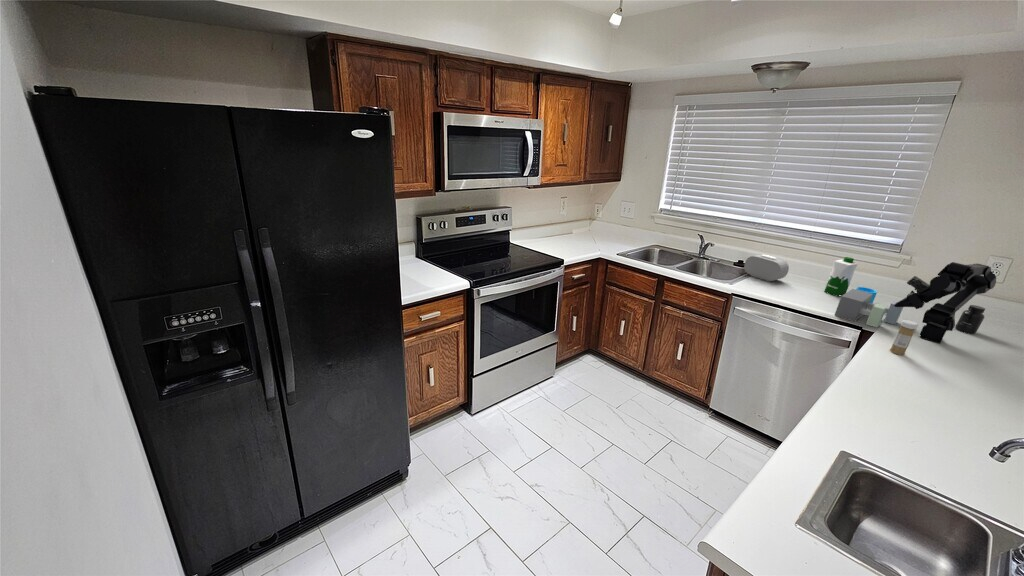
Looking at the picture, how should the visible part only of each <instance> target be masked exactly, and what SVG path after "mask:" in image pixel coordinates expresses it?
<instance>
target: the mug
mask: <svg viewBox="0 0 1024 576" xmlns="http://www.w3.org/2000/svg"><path fill="white" fill-rule="evenodd" d="M856 290H860V291H863V292H867V293H871V294H873V295H872V298H871V300H870V303H873V304H874V301H875V299H876V297H877V294H878V291H877V290H875V289H873V288H869V287H864V286H857V287H856Z"/></svg>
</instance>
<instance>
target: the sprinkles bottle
mask: <svg viewBox="0 0 1024 576" xmlns="http://www.w3.org/2000/svg"><path fill="white" fill-rule="evenodd" d="M918 326H919V325H918V323H917V322H915V321H913V320H908V319H907V320H906V319H905V320H904V319H903V320H902V321H901V323H900V327H899V329H898V331H897V333H896V336H895V337H894V340H893V342H892V345H891V347H890V349H889V351H890V352H891V353H893V354H895V355H899V356H904V355H906V351H907V349H908V347H909V345H910V343H911V341H912V338H913V336H914V333H915V330H917V328H918Z"/></svg>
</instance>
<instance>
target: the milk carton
mask: <svg viewBox="0 0 1024 576" xmlns="http://www.w3.org/2000/svg"><path fill="white" fill-rule="evenodd" d="M857 266H858V263H856V262H854V258H853V257H849V256H845V257H844V258H843V259H836V260H833V265H832V268H831V271H830V274H829V278H828V280H827V283H826V286H825V288H824V291H823V292H824V293H826V292H828V293H827V294H829V293H831V294H830V295H832V294H834V295H833V296H835V295H837V296H836V297H840V296H839V295H844V294H845V293H847V292H848V289H849V286H850V284H851V280H852V278H853V275H854V273H855V271H856V269H857Z"/></svg>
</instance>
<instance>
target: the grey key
mask: <svg viewBox="0 0 1024 576" xmlns="http://www.w3.org/2000/svg"><path fill="white" fill-rule="evenodd" d="M897 302H898V301H892V302H891V303H890V305H889V306H888V307H887V309H886V311H885V313H886V314H885V316H884V320H883V322H886V323H889V324H891V325H896V323H898V321H899V319H900V317H901V314H902V312H903V309H904V307H895V306H894V305H895V304H896V303H897ZM874 305H875V303H874V302H873V303H869V302H868V303H867V306H866V307H867V309H870V310H872V308H873V306H874Z"/></svg>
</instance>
